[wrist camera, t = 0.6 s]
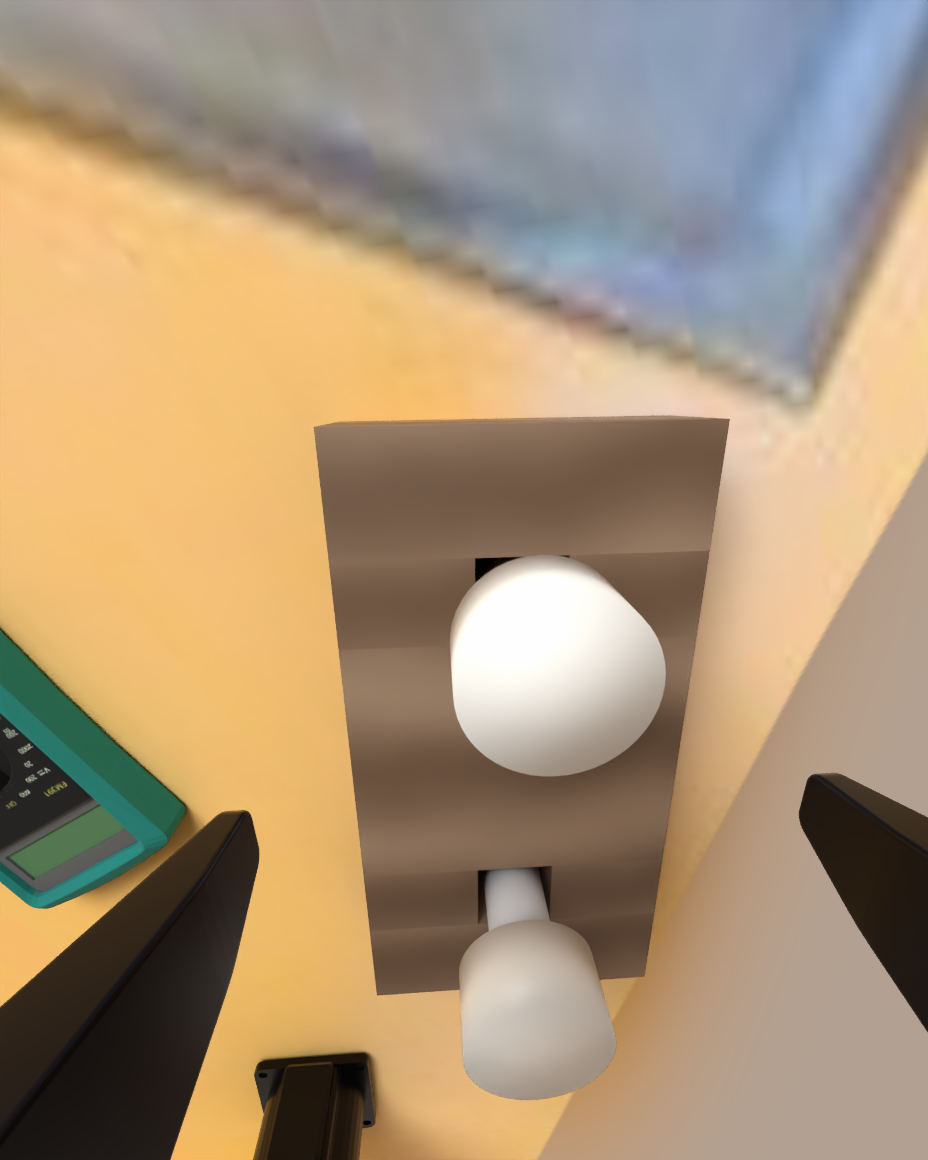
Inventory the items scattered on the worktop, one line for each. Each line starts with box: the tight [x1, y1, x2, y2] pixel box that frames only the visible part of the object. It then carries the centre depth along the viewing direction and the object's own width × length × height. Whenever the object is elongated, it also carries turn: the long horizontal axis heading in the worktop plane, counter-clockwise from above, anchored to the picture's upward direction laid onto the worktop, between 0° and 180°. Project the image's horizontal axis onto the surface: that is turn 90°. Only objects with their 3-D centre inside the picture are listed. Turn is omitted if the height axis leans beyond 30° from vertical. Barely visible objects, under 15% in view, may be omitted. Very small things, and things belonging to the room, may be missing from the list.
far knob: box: [459, 867, 616, 1100], centre depth 19 cm, size 5×5×7 cm
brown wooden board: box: [314, 416, 730, 995], centre depth 20 cm, size 24×12×4 cm, turn 1°
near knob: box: [450, 555, 666, 776], centre depth 14 cm, size 5×5×7 cm
